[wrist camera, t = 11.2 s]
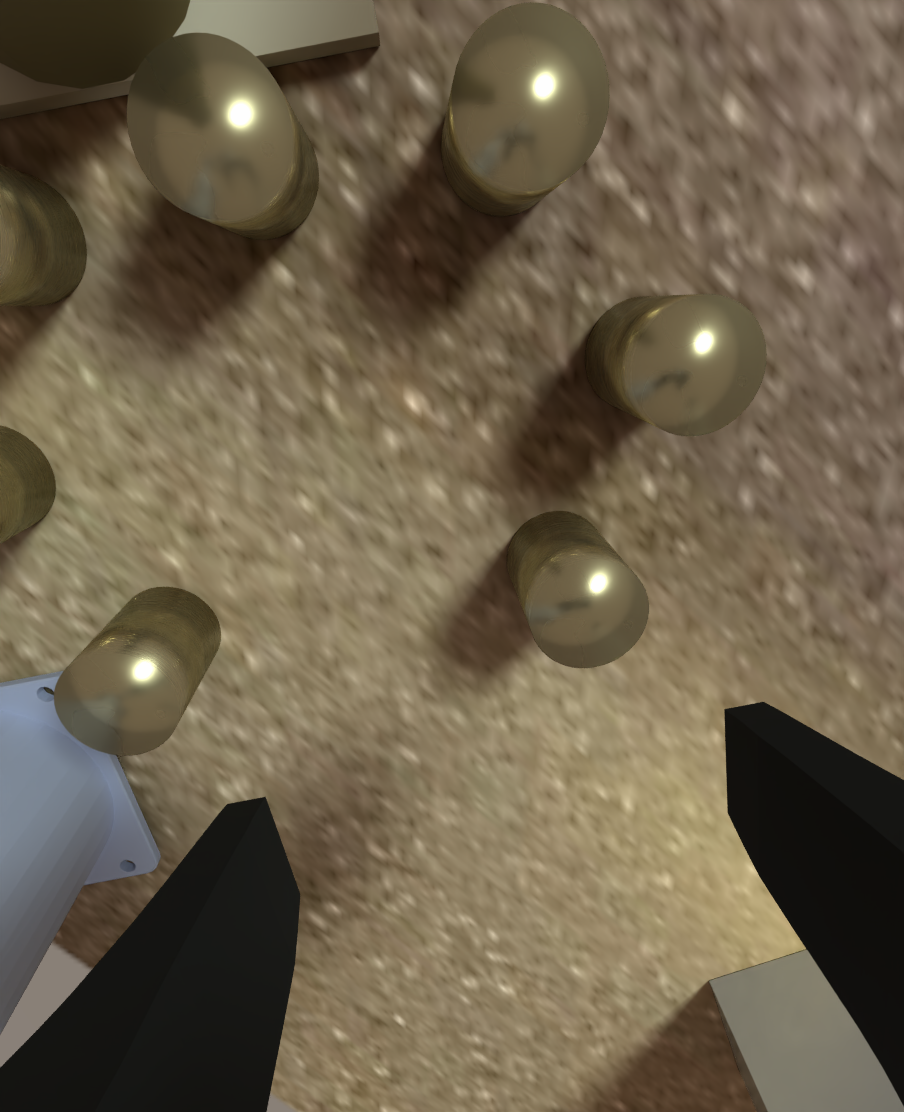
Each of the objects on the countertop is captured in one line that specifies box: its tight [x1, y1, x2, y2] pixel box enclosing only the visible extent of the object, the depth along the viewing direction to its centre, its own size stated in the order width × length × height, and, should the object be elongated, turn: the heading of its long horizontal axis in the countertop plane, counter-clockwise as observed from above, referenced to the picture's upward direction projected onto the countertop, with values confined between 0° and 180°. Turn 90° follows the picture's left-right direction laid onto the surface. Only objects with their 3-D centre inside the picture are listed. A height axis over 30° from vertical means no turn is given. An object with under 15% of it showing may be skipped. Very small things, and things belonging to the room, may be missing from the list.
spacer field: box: [0, 3, 767, 756], centre depth 16 cm, size 21×14×4 cm
